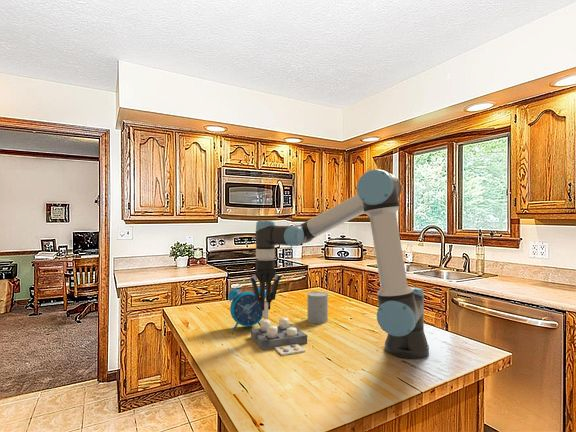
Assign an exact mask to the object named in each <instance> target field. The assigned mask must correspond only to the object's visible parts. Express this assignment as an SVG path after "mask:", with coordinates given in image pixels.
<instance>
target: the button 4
mask: <svg viewBox="0 0 576 432" xmlns="http://www.w3.org/2000/svg"><path fill="white" fill-rule="evenodd" d="M297 328H298V327H297ZM297 328H294V327H289V328H287V336H288V337H291V336H297Z"/></svg>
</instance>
